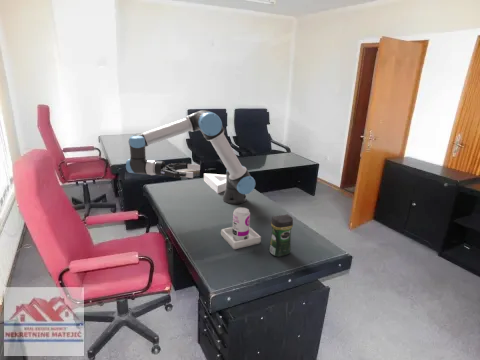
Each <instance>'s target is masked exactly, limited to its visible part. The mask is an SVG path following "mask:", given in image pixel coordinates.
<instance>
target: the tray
mask: <svg viewBox="0 0 480 360" xmlns="http://www.w3.org/2000/svg"><path fill="white" fill-rule="evenodd" d="M232 229H233V226H230V227H226V228H221V230H220V236H221V237H222V239H224V241H225V242H226V243H227V244H228V245H230V247H231V248H232V249H233V250H237V249H242V248H245V247H250V246H255V245H258V244H261V242H262V236H261V235H259V233H258V232H256V231H255V230H254V229H253V228H252V227H250V226H249V238H248V239H245V240H240V241H236V240H235V239H234V238H233V237H232Z"/></svg>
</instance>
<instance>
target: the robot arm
mask: <svg viewBox="0 0 480 360" xmlns="http://www.w3.org/2000/svg"><path fill="white" fill-rule="evenodd" d="M197 131H200V132H201V134H202V135H203V138H205V140H206V141H207V142H210V143H211V145H212V147H213V148H214V150H215V152H216V154H217V155H218V156H219V158H220V160H221V161H222V163H223V165H224V167H225V168H226V173H225V175H226V190H225V191H223V192H224V193H223V196H222V200H223V202H225V203H228V204H233V205H239V204H244V203H245V202H246V201H247V195H249V194H250V193H252V192H253V191H254V190H255V187H256V180H255V179H254V177H253V176H251V174H250V172H249V171H248V169H247V167H246V166H245V165H242V164H241V162H240V160H239V158H238V156H237V154H236V153H235V151H234V149H233V148H232V146H231V144H230V143H229V140H228V139H227V137H226V135H225V128H224V127H223V122H222V119H221V118H220V116H219V115H218V114H216V113H215V112H213V111H209V110H207V109H202V110H198V111H196V112H193V113H191V114H188V115H186V116H185V118H183V119H179V120H176V121H174V122H171V123H168V124H164V125H162V126H159V127H157V128H153V129H151V130H147V131H145V132H141V133H139V134H132V135H130V137H129V138H128V139H129V140H128V146H129V151H130V152H129V155H130V158H128V159H126V163H125V164H126V165H125V168H126V169H125V170H126V171H127V172H128V173H131V174H135V175H137V174H139V175H150V176H167V177H170V178H174V179H180V178H191V179H193V178H194V172H193V171H200V170H201V164H194V163H193V164H192V163H189V161H187V162H178V163H177V162H175V163H172V162H170V163H168V164H166V161H163V160H155V159H154V160H152V159H147V156H146V147H149V146H151V145H154V144H157V143H160V142H163V141H165V140H168V139H172V138H174V137H177V136H180V135H183V134H185V133H188V132H197ZM186 169H187V170H192V171H181V170H186Z"/></svg>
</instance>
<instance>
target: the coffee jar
mask: <svg viewBox="0 0 480 360" xmlns="http://www.w3.org/2000/svg"><path fill="white" fill-rule="evenodd" d="M293 219H294V218H293V217H292V216H291V215H290V214H288V213H287V214H281V215H275V216H274V215H273V216H272V217H271V221H270V226H271V237H270V241H269V246H268V247H269V248H268V252H270V254H271V255H272V256H273V257H274V256H275V257H283V256H287V255H290V253H291V250H292V249H291V247H292V246H291V245H292V244H291V238H292V237H291V232H292V228H293V225H294V222H293V221H294V220H293Z"/></svg>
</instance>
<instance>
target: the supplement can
mask: <svg viewBox="0 0 480 360" xmlns="http://www.w3.org/2000/svg"><path fill="white" fill-rule="evenodd" d="M232 213H233V214H232V227H233V229H232V237H233V238H234V239H235V240H236V241H240V240H245V239H248V238H249V227H250V223H251V222H250V221H251V212H250V209H249V208H247V207H236V208H234V211H233V212H232Z"/></svg>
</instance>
